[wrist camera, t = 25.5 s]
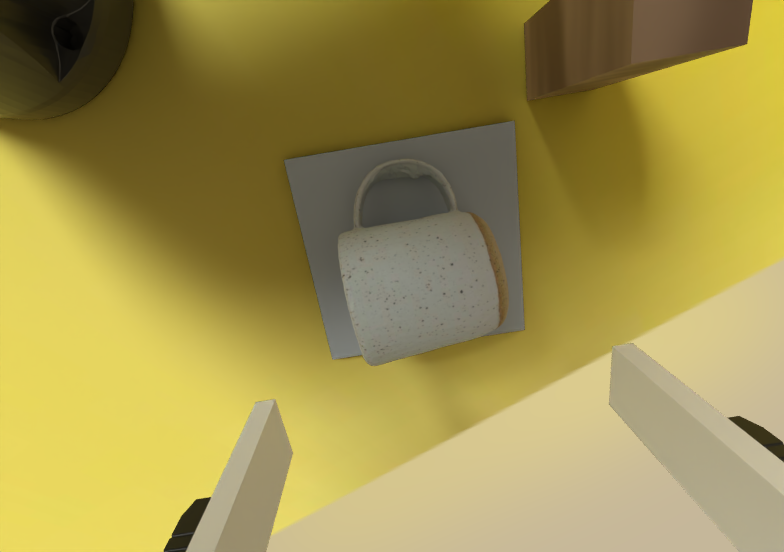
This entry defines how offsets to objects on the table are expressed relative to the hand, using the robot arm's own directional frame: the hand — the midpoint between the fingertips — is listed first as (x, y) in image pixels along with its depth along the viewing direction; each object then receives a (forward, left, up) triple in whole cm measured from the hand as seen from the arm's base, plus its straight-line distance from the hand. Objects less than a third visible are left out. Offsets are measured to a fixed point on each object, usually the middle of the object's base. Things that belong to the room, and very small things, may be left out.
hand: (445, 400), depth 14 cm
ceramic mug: (0, +3, -12) cm, 12 cm away
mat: (0, +3, -12) cm, 12 cm away
